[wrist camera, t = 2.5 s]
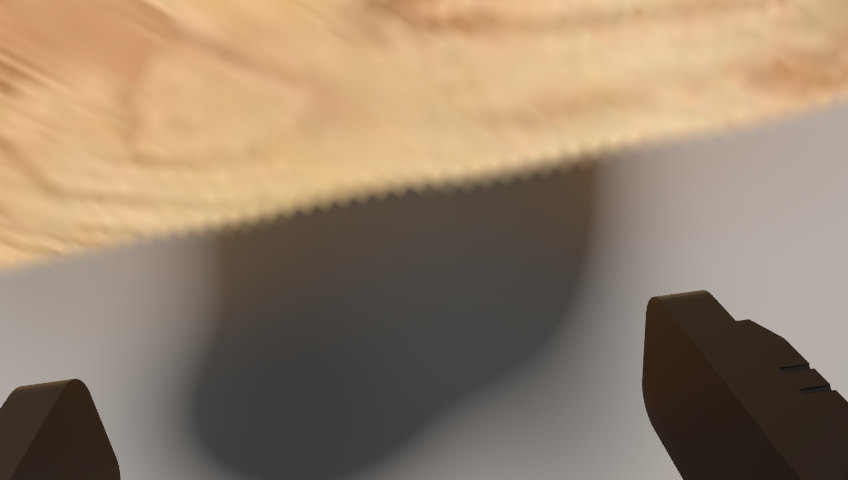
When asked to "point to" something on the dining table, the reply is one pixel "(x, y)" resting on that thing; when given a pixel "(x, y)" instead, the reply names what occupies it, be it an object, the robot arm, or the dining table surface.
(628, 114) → the dining table surface
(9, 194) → the dining table surface
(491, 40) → the dining table surface
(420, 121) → the dining table surface
